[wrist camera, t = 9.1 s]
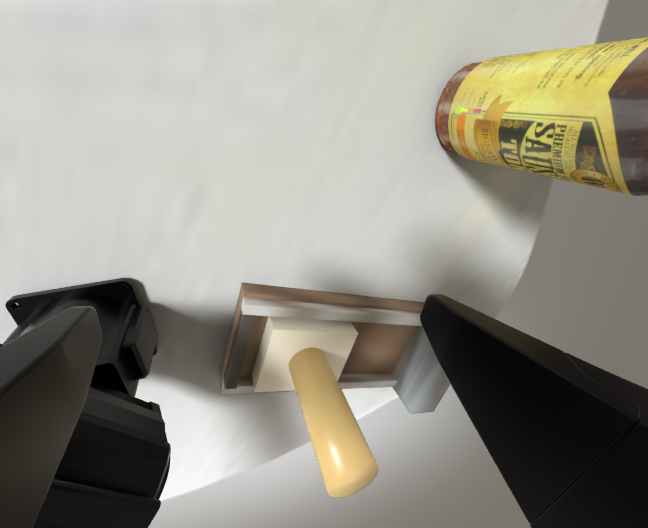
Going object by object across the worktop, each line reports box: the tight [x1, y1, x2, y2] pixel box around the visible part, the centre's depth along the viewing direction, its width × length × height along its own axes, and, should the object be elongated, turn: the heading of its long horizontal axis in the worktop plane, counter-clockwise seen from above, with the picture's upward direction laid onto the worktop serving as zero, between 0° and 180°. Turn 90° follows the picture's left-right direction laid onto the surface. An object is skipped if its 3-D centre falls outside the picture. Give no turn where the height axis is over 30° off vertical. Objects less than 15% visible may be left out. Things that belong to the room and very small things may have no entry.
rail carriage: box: [252, 316, 378, 498], centre depth 20 cm, size 7×6×11 cm
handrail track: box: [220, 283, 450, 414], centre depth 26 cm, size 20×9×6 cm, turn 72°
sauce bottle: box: [436, 37, 648, 196], centre depth 14 cm, size 7×6×20 cm
